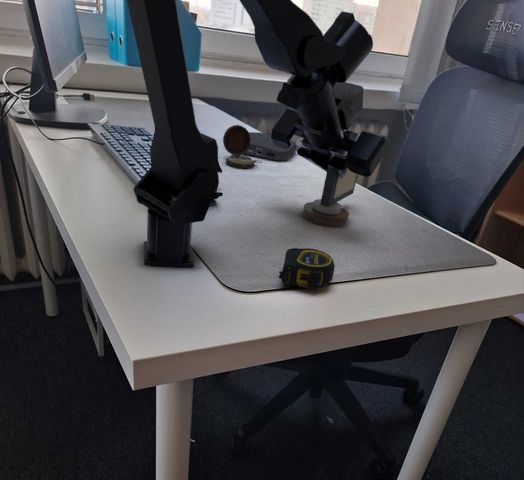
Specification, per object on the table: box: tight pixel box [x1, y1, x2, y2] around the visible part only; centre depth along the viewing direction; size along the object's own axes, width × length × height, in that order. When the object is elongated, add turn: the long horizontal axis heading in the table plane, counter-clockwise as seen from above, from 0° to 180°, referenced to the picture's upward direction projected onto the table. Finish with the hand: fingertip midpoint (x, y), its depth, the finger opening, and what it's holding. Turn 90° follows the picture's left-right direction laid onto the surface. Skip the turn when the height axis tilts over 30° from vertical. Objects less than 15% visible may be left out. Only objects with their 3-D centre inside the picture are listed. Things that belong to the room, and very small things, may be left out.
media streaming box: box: [244, 131, 298, 161], centre depth 123 cm, size 15×15×3 cm
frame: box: [312, 154, 359, 215], centre depth 90 cm, size 12×5×9 cm, turn 149°
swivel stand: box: [302, 201, 350, 228], centre depth 90 cm, size 8×8×2 cm
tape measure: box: [278, 247, 336, 290], centre depth 67 cm, size 7×7×4 cm
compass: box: [222, 124, 263, 169], centre depth 110 cm, size 8×8×7 cm
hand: (337, 173), depth 87 cm, fingers closed on frame, 2 cm apart
